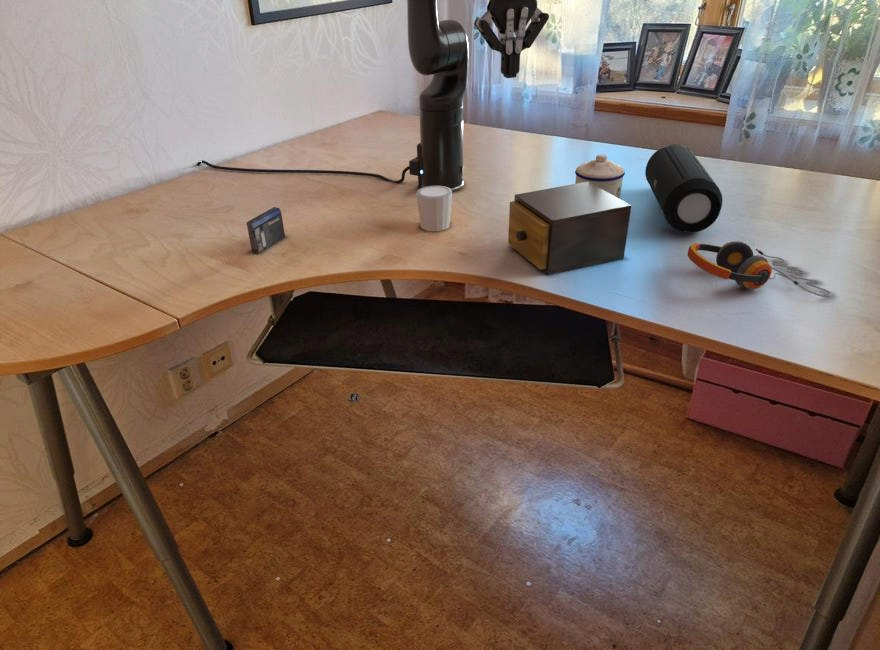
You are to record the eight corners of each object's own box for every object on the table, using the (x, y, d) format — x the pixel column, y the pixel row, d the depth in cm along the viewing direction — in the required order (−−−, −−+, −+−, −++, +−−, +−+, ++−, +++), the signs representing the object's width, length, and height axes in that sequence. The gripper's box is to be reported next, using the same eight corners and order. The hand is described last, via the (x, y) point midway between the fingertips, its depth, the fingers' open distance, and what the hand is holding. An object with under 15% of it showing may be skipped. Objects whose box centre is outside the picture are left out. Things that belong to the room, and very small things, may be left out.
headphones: (851, 282, 96) (728, 266, 92) (832, 314, 99) (712, 299, 95) (784, 237, 110) (676, 221, 106) (769, 266, 113) (664, 251, 109)
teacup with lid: (620, 223, 124) (629, 163, 118) (571, 222, 126) (577, 162, 120) (615, 201, 134) (623, 143, 128) (570, 200, 136) (575, 143, 129)
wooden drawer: (533, 271, 108) (536, 227, 104) (501, 244, 118) (503, 202, 113) (610, 255, 112) (616, 211, 107) (573, 230, 121) (578, 189, 117)
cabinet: (548, 275, 109) (552, 220, 103) (512, 245, 119) (514, 194, 114) (623, 258, 112) (631, 205, 107) (582, 231, 123) (587, 181, 117)
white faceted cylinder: (456, 220, 130) (456, 186, 126) (447, 233, 125) (446, 198, 121) (423, 217, 132) (422, 184, 128) (413, 231, 127) (411, 196, 123)
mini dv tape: (258, 253, 122) (252, 223, 119) (252, 252, 123) (246, 222, 119) (285, 237, 128) (280, 207, 124) (279, 236, 128) (274, 206, 125)
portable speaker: (640, 188, 139) (647, 141, 134) (689, 188, 138) (698, 140, 132) (661, 237, 118) (671, 183, 113) (719, 237, 117) (732, 183, 111)
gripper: (540, -45, 107) (533, 69, 116) (465, -39, 103) (465, 78, 113) (564, -44, 101) (555, 76, 110) (485, -38, 98) (483, 86, 107)
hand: (509, 77), depth 112 cm, fingers closed
